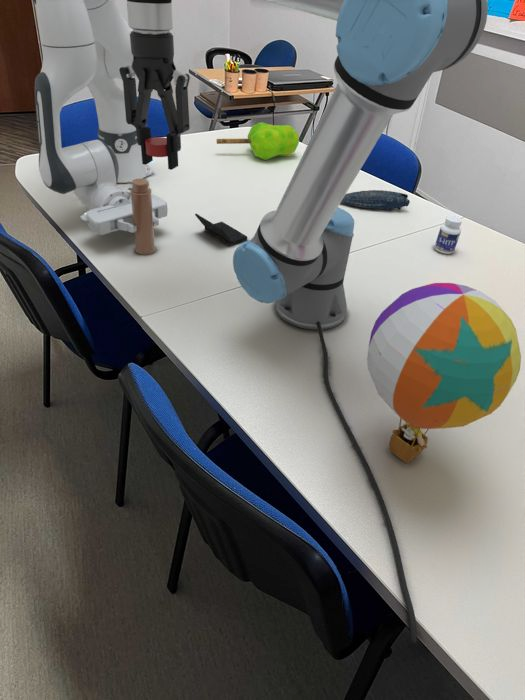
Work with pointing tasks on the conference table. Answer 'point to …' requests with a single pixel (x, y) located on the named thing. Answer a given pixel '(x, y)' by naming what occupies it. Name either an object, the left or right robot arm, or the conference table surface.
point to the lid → (156, 147)
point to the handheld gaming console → (223, 231)
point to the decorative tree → (269, 140)
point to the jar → (142, 216)
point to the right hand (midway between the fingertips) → (160, 164)
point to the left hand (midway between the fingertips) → (145, 226)
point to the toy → (441, 360)
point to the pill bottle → (448, 235)
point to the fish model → (376, 199)
